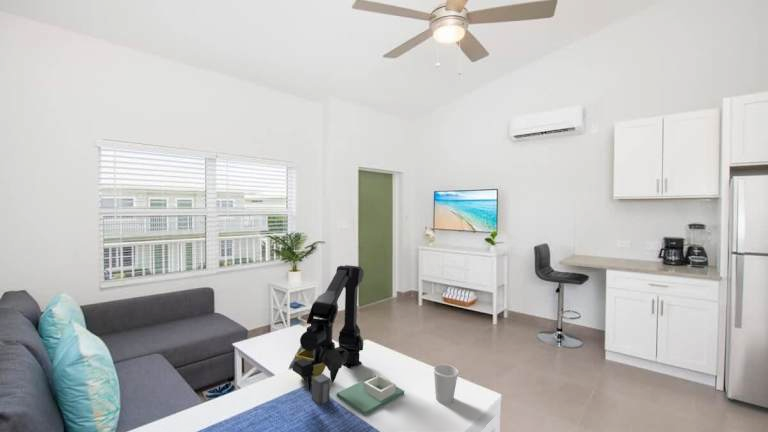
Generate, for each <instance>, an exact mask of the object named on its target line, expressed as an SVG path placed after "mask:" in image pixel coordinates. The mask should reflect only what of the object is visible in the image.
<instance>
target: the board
mask: <svg viewBox="0 0 768 432" xmlns="http://www.w3.org/2000/svg"><path fill="white" fill-rule="evenodd" d="M403 395H405V390H403V389H402V388H400V387H398V386H397V385H396V383H394V382H392V381H390V380H388V379H387V378H384V377H383V376H381V375H372V376H370V377H368V378H366V379H363V380H361V381H359V382H358V383H355V384H353V385H351V386H349V387H346V388H344V389H342V390H339V391H338V392H336V397H337V398H338V399H340V400H341V401H342V402H344V403H346V404H347V405H349V406H350V407H352V408H353V409H354V410H356V411H357V412H359V413H361V414H362V415H364V416H367V415H369V414H371V413H373V412H375V411H376V410H378V409H380V408H382V407H383V406H385V405H387V404H389V403H391V402H393V401H394V400H396V399H398V398H400V397H401V396H403Z"/></svg>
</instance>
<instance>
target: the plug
mask: <svg viewBox="0 0 768 432" xmlns="http://www.w3.org/2000/svg"><path fill="white" fill-rule="evenodd" d="M330 385H331V377H329V376H326V375H325V374H323V373H322V374H321V375H319V376H316V377H313V379H312V381H311V400H312V401H313V402H315V403H316V404H318V405H321V404H325V403H327V402H328V401H329V400H330V387H331V386H330Z"/></svg>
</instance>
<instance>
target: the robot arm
mask: <svg viewBox="0 0 768 432" xmlns="http://www.w3.org/2000/svg"><path fill="white" fill-rule="evenodd" d="M335 271H336V272H335V274H334V276H333V277H332V279H331V281H330V283H329V285H328V287H327V288H326V290H325V292H323V293H321V294H320V295H318V296H317V298H316V299H315V300H314V302H313V303H312V305H311V308H310V311H309V314H308V316H307V320H306V324H307V325H309V326H308V327H307V328H306V331H305V332H303V333H302V335H301V336H300V339H299V343H300V346H301V348H302V349H303V350H304V349H305V350H306V351H313V350H314V353H312V354H311V357H313V359H314V360H311V361H308V360H306V359H305V358H304V359H301V360H298V361H296V360H295V361H294V362H293V364H292V371H293V372H295V373H296V375H299V376H300V377H301V376H302V377H301V379H302V380H303V383H304V385H305V388H306V391H307V392H308V393H311V392H312V381H311V380H312V376H313V375H314V373H312V372H313V371H314V366H317V365H320V364H323V363H324V364H325V365H326V368H327V370H328V371H329V376H330V377H329V378H330V382H332V383H334V382H335V379H336V378H337V374H338V372H339V370H340V369H342V367H343V366H345V367H346V368H349V369H351V368H353V367H356V366H359V365H361V364H362V361H360V352H361V351H363V350H364V343H365V342H364V340H363V338H362V335H361V329H360V327H359V325H358V324H357V319H358V318H357V317H358V290H359V289H358V288H359V286H360V285H361V283H362V281H363V277H364V274H365V273H364V271H365V270H364V269H363V268H362V267H361V266H359V265H358V266H356V265H349V264H348V265H347V264H345V265H339V266H337V267H336V270H335ZM344 289H345V294H344V295H345V296H344V323H343V324H344V325H343V327H342V328H341V329H340V331H339V333H338V335H339V336H338V338H337V339H338V347H336V344H335V342H334V341H333V328H334V323H335V320H336V317H337V315H338V312H339V305H338V300H339V298H340V296H341V294H342V292H343V290H344Z"/></svg>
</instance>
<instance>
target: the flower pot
mask: <svg viewBox="0 0 768 432" xmlns="http://www.w3.org/2000/svg"><path fill="white" fill-rule="evenodd" d="M312 353H314V350H313V351H306V350H305V349H303V350H301V351H300V352H298V353H296V354H295V361H298V360H301V359H304V358H305V359H306V360H308V361H311V360H314V359H313V357H311V354H312ZM326 368H327V366H326V365H325V364H324V363H323V364H320V365H317V366H314V371H313V372H312V373H314V375H313V376H312V379H313V377H316V376H319V375H321V374H323V372H324V371H325V369H326ZM300 378H302V376H300ZM311 382H312V380H311Z"/></svg>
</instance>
